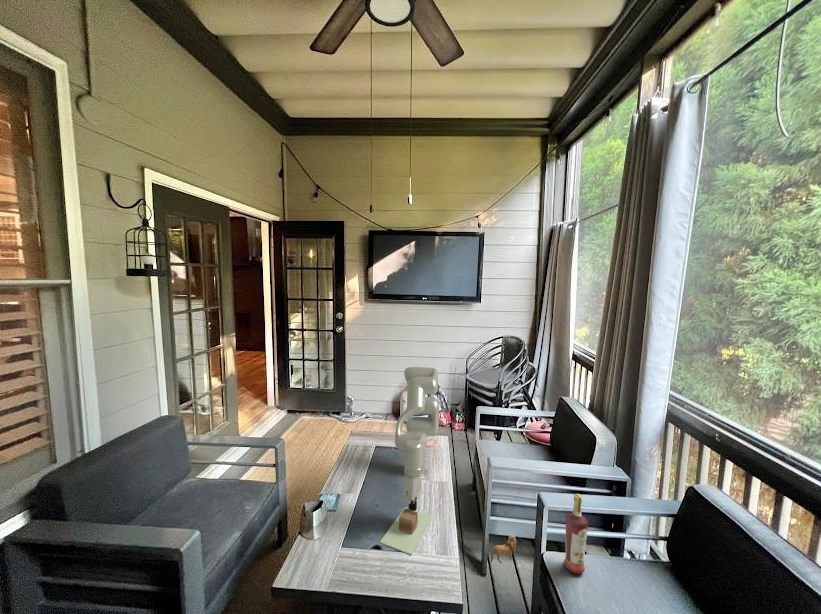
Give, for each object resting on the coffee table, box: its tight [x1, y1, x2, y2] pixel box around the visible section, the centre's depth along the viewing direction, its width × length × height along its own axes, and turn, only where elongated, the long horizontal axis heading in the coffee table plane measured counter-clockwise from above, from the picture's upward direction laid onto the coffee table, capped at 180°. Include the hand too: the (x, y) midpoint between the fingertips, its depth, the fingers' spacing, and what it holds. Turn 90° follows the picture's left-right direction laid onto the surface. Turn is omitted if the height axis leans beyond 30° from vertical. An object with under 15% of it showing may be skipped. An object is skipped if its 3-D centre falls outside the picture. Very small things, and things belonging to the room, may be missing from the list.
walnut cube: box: [398, 507, 418, 535], centre depth 142 cm, size 6×6×6 cm
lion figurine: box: [489, 534, 517, 564], centre depth 128 cm, size 12×4×7 cm, turn 117°
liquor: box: [563, 493, 589, 575], centre depth 123 cm, size 7×7×28 cm
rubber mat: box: [379, 506, 434, 556], centre depth 142 cm, size 23×14×1 cm, turn 155°
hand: (412, 509), depth 145 cm, fingers closed
